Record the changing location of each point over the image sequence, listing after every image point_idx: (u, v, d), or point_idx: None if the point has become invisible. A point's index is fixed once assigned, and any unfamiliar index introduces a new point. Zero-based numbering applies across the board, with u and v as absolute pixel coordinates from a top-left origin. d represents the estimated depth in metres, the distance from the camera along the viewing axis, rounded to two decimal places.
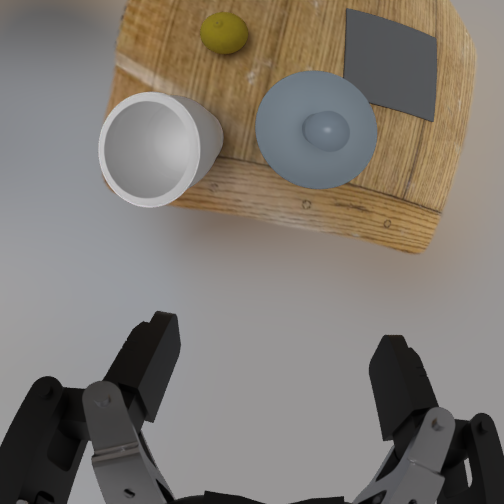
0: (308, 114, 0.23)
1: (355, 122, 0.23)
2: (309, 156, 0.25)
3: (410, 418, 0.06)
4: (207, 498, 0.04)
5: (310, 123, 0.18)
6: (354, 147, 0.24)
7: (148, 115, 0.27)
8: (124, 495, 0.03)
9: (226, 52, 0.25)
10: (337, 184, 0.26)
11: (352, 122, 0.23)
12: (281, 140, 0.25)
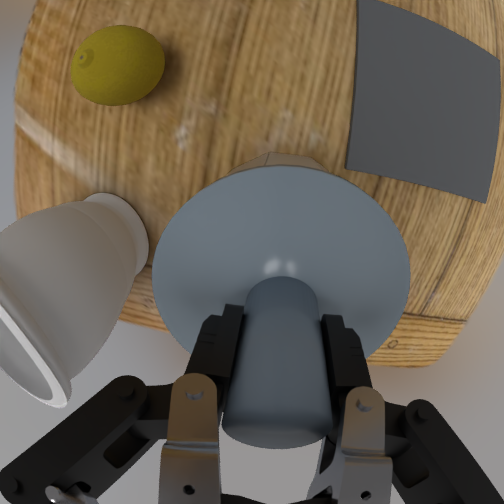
0: (259, 279, 0.11)
1: (366, 289, 0.11)
2: None
3: (338, 396, 0.07)
4: None
5: (226, 418, 0.07)
6: None
7: None
8: (183, 490, 0.04)
9: (123, 103, 0.14)
10: None
11: (359, 289, 0.11)
12: None
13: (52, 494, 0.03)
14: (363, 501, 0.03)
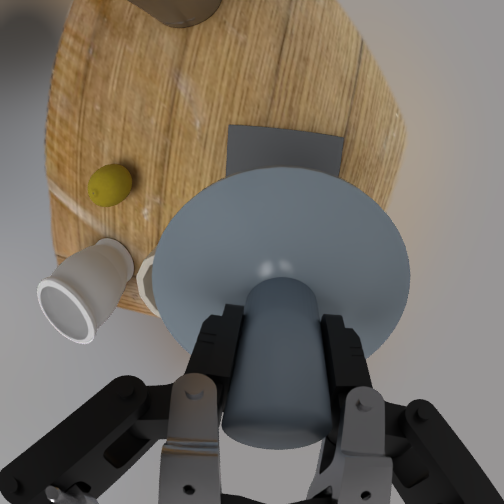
0: (259, 279, 0.11)
1: (366, 290, 0.11)
2: None
3: (338, 396, 0.07)
4: None
5: (226, 419, 0.07)
6: None
7: None
8: (183, 490, 0.04)
9: None
10: None
11: (359, 290, 0.11)
12: None
13: (52, 494, 0.03)
14: (363, 501, 0.03)
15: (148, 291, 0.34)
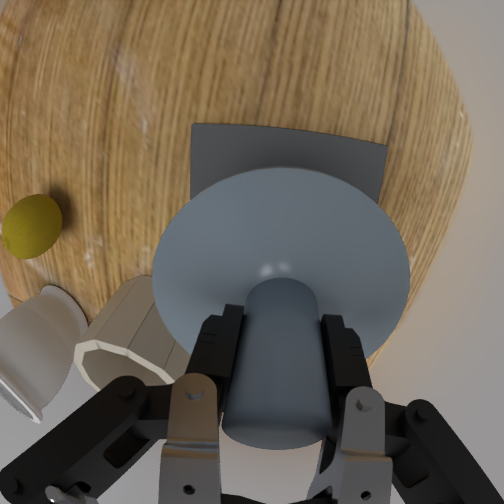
0: (259, 280, 0.11)
1: (365, 290, 0.11)
2: None
3: (337, 396, 0.07)
4: None
5: (226, 420, 0.07)
6: None
7: None
8: (183, 490, 0.04)
9: None
10: None
11: (358, 290, 0.11)
12: None
13: (52, 494, 0.03)
14: (363, 501, 0.03)
15: (95, 373, 0.21)
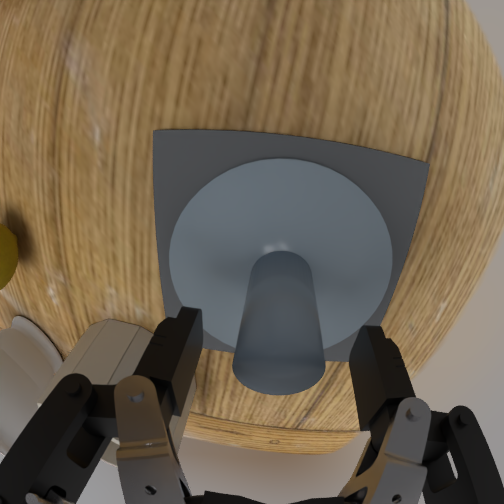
0: (262, 253, 0.14)
1: (353, 263, 0.13)
2: None
3: (385, 408, 0.07)
4: (207, 498, 0.04)
5: (236, 358, 0.09)
6: (345, 303, 0.14)
7: None
8: (145, 491, 0.03)
9: None
10: None
11: (347, 263, 0.13)
12: (215, 295, 0.15)
13: (32, 502, 0.02)
14: None
15: None
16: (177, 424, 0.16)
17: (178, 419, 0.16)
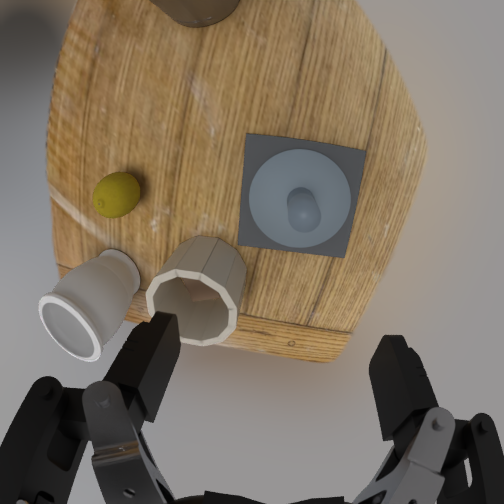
0: (292, 188, 0.31)
1: (332, 194, 0.30)
2: None
3: (410, 418, 0.06)
4: (207, 498, 0.04)
5: (290, 211, 0.26)
6: (330, 214, 0.32)
7: None
8: (124, 495, 0.03)
9: None
10: (315, 244, 0.33)
11: (329, 193, 0.30)
12: (270, 209, 0.32)
13: None
14: None
15: (158, 308, 0.32)
16: (241, 291, 0.33)
17: (242, 289, 0.33)
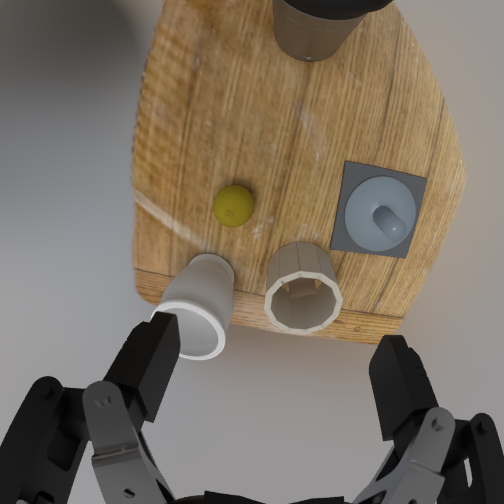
0: (377, 206, 0.37)
1: (404, 211, 0.37)
2: (374, 232, 0.39)
3: (410, 418, 0.06)
4: (207, 498, 0.04)
5: (387, 226, 0.33)
6: None
7: None
8: (124, 495, 0.03)
9: None
10: (388, 248, 0.40)
11: (402, 210, 0.37)
12: (360, 222, 0.39)
13: None
14: None
15: (270, 305, 0.39)
16: None
17: None
